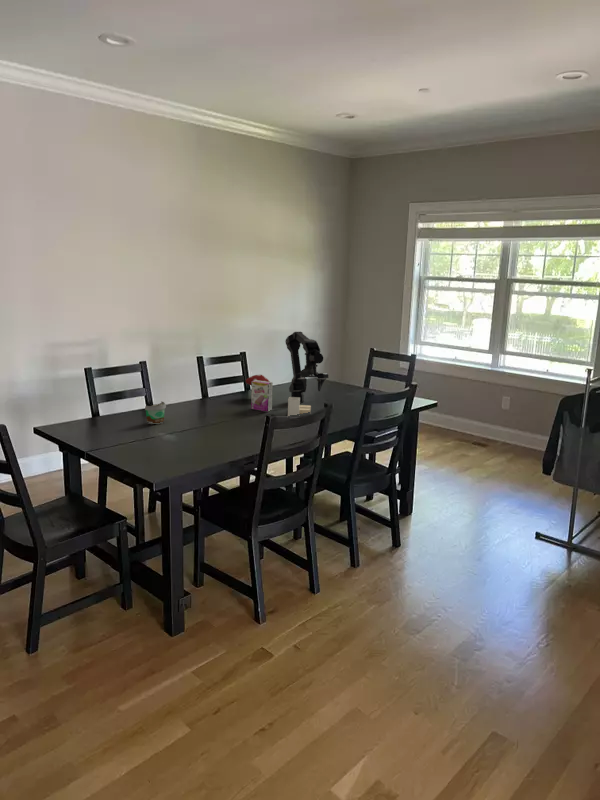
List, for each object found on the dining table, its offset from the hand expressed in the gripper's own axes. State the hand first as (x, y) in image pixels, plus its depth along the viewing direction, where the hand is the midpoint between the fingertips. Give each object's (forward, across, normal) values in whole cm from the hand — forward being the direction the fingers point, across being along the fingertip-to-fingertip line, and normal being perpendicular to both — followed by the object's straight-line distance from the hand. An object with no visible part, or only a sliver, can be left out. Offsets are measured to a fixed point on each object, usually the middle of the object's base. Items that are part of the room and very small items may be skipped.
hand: (312, 391), depth 347 cm
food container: (+11, -50, -70) cm, 86 cm away
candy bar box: (+10, -24, -16) cm, 30 cm away
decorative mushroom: (+6, -40, +4) cm, 41 cm away
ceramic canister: (+12, -3, -15) cm, 20 cm away
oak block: (+12, -5, -5) cm, 14 cm away
